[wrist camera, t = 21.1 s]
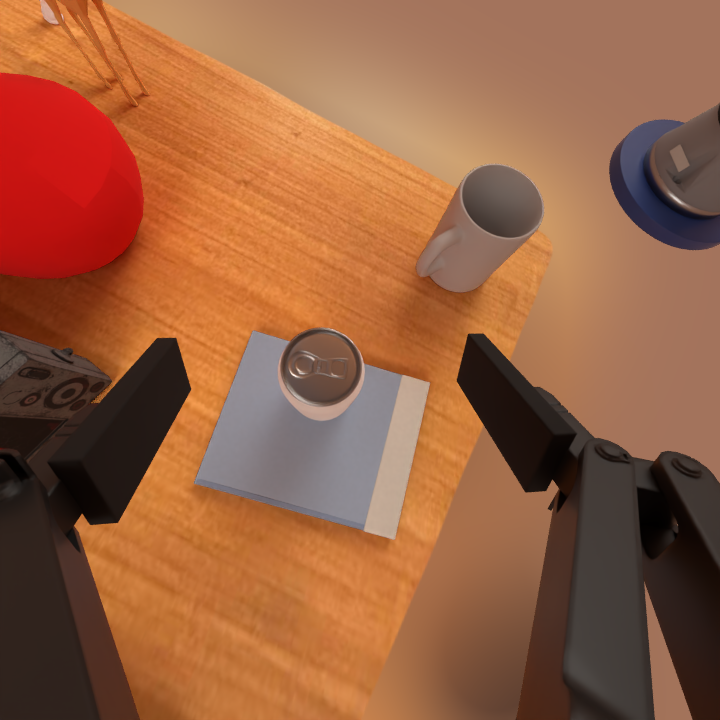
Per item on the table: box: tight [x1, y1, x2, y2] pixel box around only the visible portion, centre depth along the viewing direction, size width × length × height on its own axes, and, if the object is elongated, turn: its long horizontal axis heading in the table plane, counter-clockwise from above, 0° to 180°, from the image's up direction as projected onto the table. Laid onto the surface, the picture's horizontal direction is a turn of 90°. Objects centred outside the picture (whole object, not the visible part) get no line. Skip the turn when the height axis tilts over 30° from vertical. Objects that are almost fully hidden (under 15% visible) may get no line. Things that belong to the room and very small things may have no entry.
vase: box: [0, 73, 144, 279], centre depth 27 cm, size 18×18×19 cm
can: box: [278, 328, 365, 421], centre depth 28 cm, size 6×6×12 cm
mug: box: [416, 164, 544, 292], centre depth 35 cm, size 12×8×11 cm
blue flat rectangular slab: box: [194, 331, 430, 540], centre depth 33 cm, size 20×16×1 cm
